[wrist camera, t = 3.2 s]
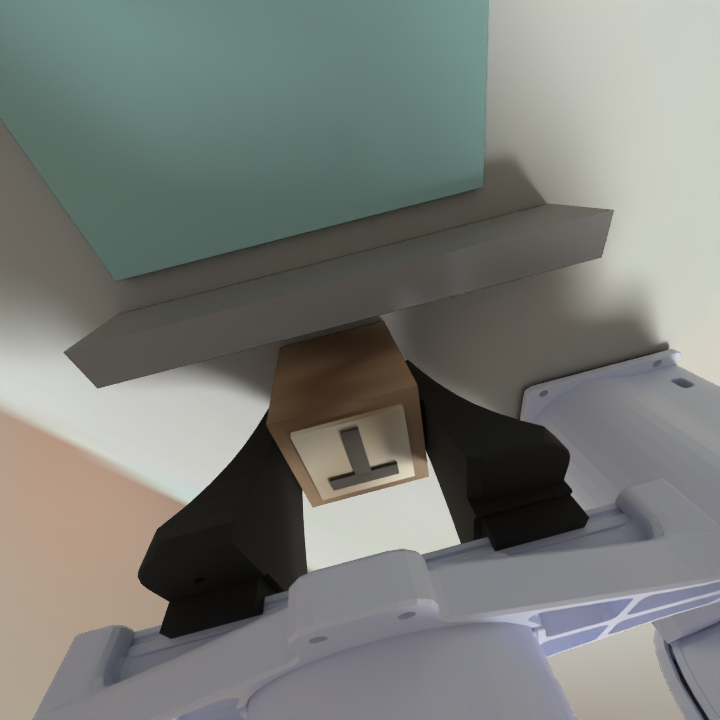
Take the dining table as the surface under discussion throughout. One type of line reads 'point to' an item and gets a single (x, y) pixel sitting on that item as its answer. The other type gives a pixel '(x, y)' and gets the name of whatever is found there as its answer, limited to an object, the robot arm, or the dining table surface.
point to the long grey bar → (340, 291)
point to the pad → (241, 115)
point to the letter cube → (347, 414)
